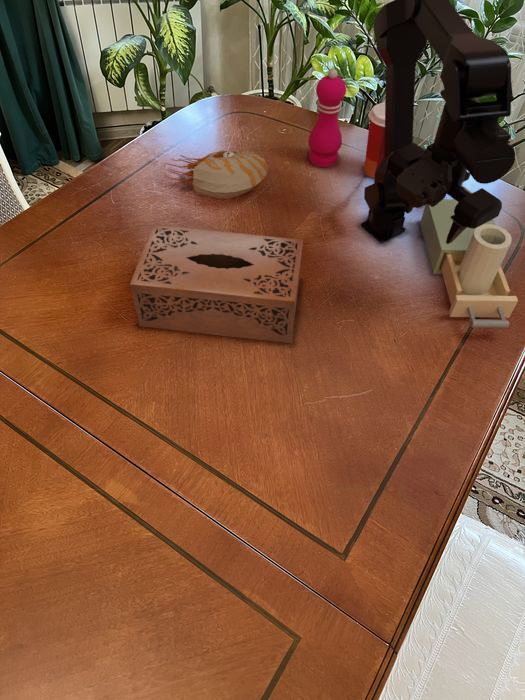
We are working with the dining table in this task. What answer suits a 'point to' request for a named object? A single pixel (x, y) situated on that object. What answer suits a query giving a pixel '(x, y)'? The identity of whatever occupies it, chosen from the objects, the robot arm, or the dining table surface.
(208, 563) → the dining table surface
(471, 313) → the drawer
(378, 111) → the paper cup
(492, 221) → the cabinet
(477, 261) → the jar
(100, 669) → the dining table surface
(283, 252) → the tissue box cover
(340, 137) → the pepper mill
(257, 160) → the nautilus
